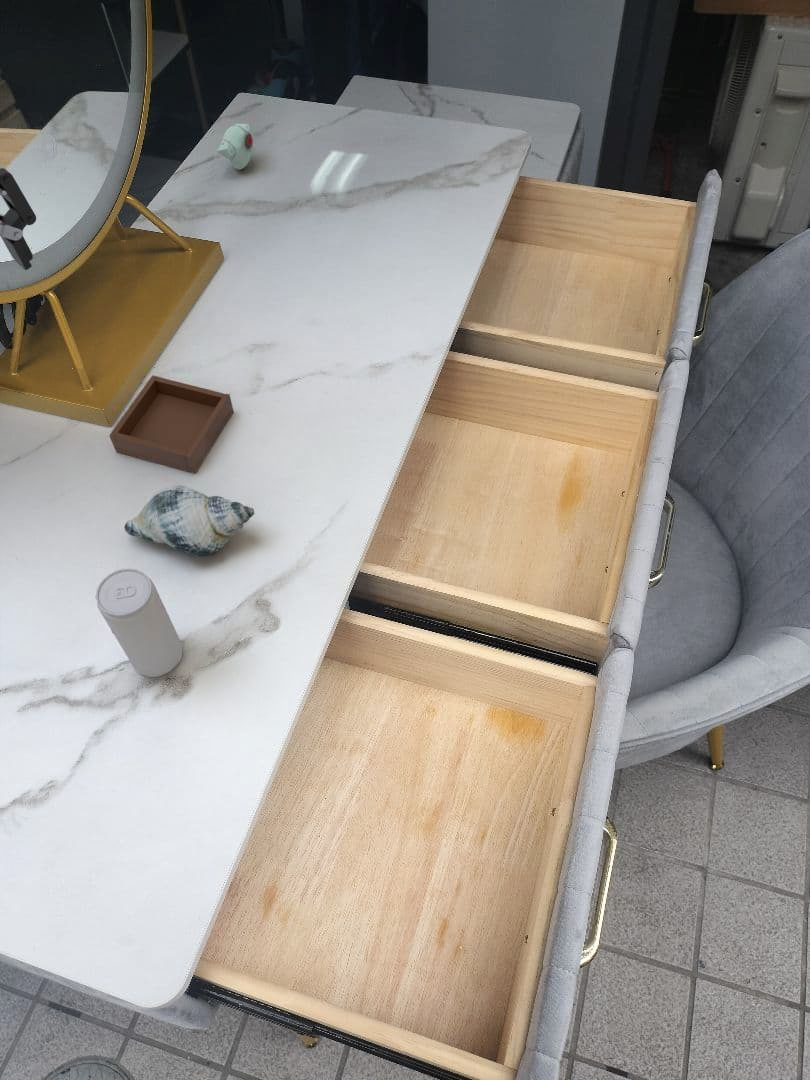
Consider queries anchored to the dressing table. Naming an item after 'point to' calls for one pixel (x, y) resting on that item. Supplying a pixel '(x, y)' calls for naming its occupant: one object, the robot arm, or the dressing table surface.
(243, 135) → the robot head
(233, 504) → the seashell
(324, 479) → the dressing table surface
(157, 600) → the beverage can
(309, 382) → the dressing table surface
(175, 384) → the tray
